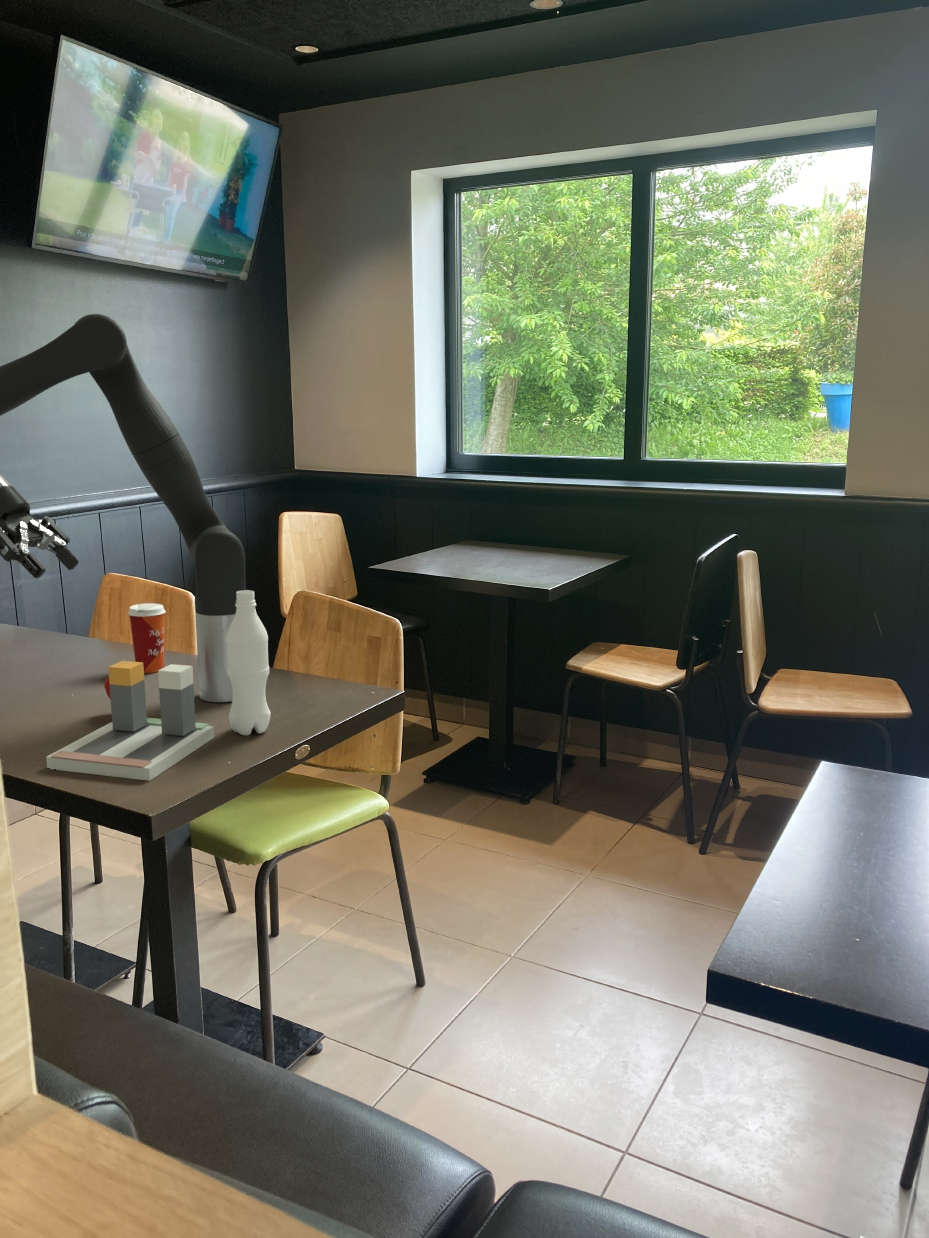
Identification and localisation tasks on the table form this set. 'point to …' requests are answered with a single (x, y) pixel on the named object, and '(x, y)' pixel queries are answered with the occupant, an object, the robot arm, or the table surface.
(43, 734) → the table surface
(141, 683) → the orange-topped grey pillar
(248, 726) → the water bottle
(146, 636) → the paper cup
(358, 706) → the table surface
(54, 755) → the grey base plate
